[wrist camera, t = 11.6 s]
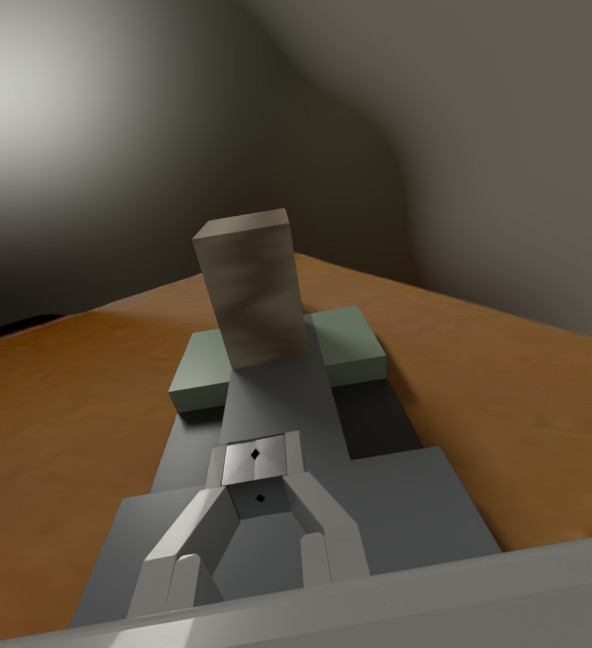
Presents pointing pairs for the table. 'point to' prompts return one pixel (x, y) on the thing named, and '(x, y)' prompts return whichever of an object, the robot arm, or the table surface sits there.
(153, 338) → the table surface
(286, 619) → the robot arm
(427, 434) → the table surface
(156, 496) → the board
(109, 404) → the table surface
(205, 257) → the birch block
